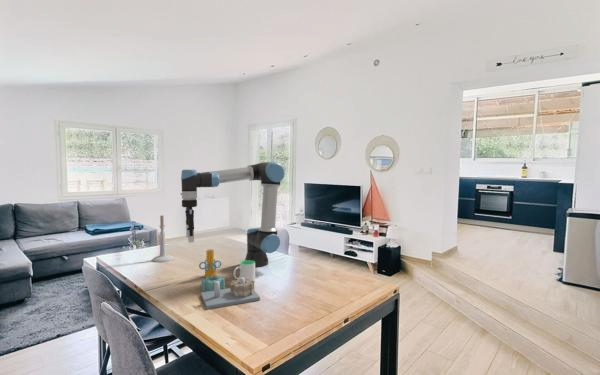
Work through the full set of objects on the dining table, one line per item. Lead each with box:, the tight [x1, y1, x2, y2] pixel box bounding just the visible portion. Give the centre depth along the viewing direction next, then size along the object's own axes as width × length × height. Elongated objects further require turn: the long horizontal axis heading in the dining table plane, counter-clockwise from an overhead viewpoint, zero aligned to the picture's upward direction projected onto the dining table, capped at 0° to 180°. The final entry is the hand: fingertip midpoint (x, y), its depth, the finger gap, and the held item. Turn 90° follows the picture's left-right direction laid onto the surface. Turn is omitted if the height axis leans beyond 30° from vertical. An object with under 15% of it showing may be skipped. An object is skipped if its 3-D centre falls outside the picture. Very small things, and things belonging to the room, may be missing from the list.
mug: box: [233, 259, 256, 283], centre depth 178 cm, size 12×8×10 cm, turn 128°
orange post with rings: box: [198, 248, 222, 278], centre depth 187 cm, size 12×10×15 cm
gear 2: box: [229, 279, 255, 297], centre depth 159 cm, size 11×11×5 cm
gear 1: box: [201, 274, 226, 292], centre depth 168 cm, size 11×11×5 cm
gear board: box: [200, 278, 261, 310], centre depth 156 cm, size 24×17×8 cm
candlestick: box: [152, 214, 174, 263], centre depth 220 cm, size 13×13×30 cm
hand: (190, 239), depth 174 cm, fingers open, 13 cm apart
